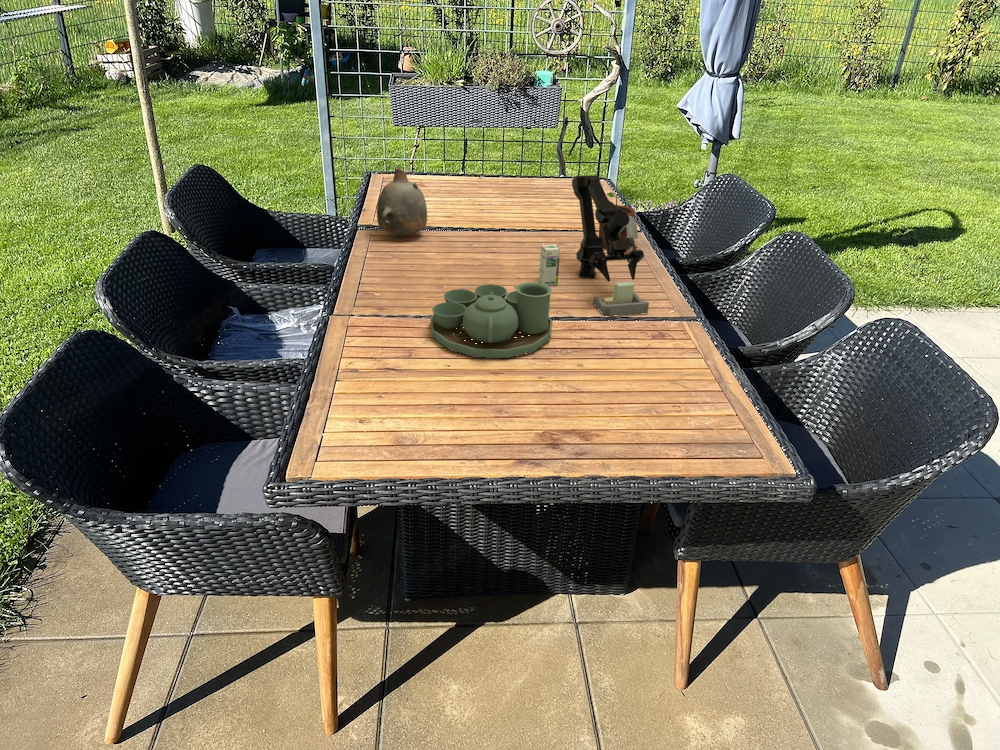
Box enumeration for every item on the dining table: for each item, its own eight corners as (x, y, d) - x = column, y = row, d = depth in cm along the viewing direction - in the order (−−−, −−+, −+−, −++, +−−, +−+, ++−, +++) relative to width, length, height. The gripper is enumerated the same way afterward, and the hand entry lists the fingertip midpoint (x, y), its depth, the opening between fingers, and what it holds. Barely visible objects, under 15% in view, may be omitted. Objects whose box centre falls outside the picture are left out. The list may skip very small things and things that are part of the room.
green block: (611, 309, 246) (614, 282, 241) (627, 307, 247) (630, 281, 242) (614, 312, 244) (618, 286, 239) (630, 311, 245) (634, 284, 240)
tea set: (522, 300, 251) (524, 256, 242) (572, 350, 219) (576, 302, 210) (415, 314, 237) (413, 268, 229) (451, 369, 205) (451, 319, 197)
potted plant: (631, 241, 310) (639, 184, 297) (637, 258, 291) (645, 199, 278) (591, 239, 310) (597, 182, 298) (594, 256, 292) (601, 196, 279)
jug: (424, 246, 294) (422, 175, 279) (373, 244, 294) (369, 172, 279) (430, 228, 315) (429, 160, 300) (383, 226, 315) (379, 158, 300)
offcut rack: (592, 303, 249) (593, 293, 247) (633, 300, 253) (635, 290, 251) (604, 317, 240) (606, 306, 238) (647, 313, 244) (648, 303, 242)
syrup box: (543, 286, 261) (546, 249, 254) (538, 280, 266) (541, 244, 259) (557, 285, 263) (560, 248, 256) (552, 279, 268) (555, 243, 260)
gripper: (595, 230, 237) (604, 272, 233) (645, 227, 241) (655, 269, 237) (585, 244, 247) (593, 285, 243) (633, 241, 252) (642, 282, 248)
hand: (621, 280), depth 243 cm, fingers open, 9 cm apart
